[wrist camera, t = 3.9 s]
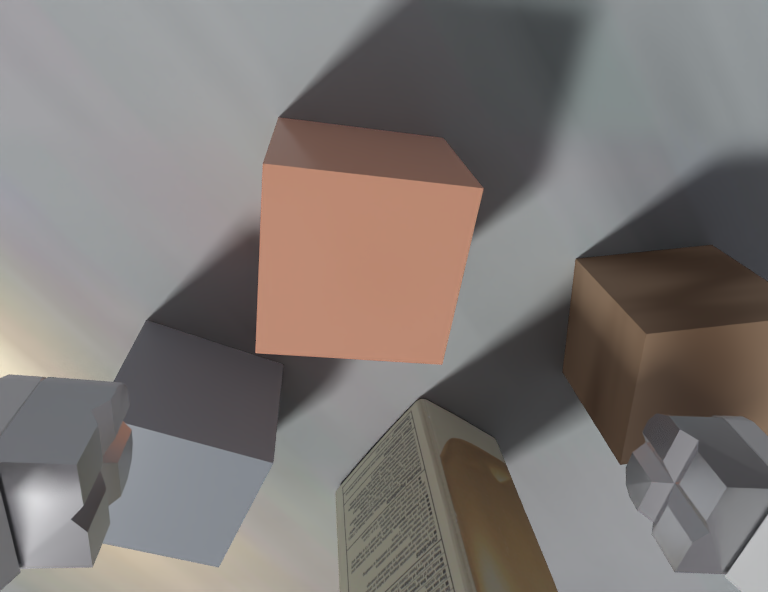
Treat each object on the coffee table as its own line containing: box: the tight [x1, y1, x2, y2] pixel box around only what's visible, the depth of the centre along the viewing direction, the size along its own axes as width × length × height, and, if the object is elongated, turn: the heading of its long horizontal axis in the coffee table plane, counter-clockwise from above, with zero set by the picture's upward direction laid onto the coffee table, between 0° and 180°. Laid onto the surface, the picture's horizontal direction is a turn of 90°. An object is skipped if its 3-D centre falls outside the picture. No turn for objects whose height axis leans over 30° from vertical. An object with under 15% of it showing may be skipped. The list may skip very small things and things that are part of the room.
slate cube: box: [103, 320, 284, 567], centre depth 19 cm, size 5×5×5 cm
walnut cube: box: [563, 245, 768, 465], centre depth 19 cm, size 5×5×5 cm
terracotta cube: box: [255, 117, 484, 365], centre depth 16 cm, size 5×5×5 cm
